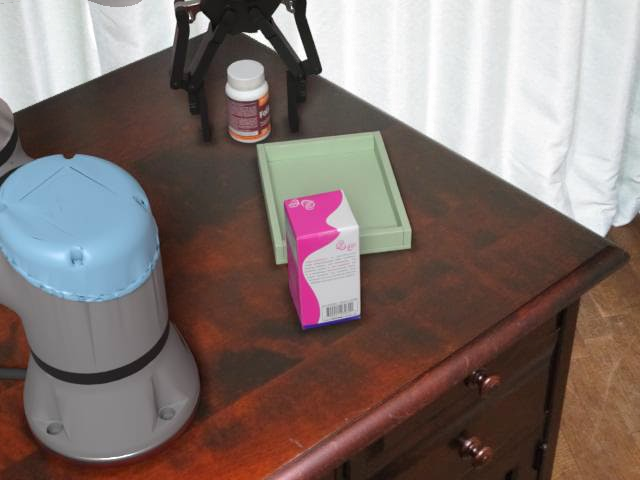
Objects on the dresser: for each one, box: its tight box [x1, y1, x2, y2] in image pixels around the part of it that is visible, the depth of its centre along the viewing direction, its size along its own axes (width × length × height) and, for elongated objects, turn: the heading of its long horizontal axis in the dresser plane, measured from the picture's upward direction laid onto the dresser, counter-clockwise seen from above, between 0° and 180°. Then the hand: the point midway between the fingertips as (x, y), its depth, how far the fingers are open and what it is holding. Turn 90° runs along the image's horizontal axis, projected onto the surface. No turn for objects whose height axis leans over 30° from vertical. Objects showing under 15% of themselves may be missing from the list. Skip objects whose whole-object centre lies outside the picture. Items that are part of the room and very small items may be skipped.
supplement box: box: [284, 190, 362, 330], centre depth 106 cm, size 6×6×12 cm
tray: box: [255, 130, 413, 265], centre depth 120 cm, size 14×17×2 cm
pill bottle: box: [224, 59, 272, 144], centre depth 127 cm, size 5×5×8 cm
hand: (250, 129), depth 130 cm, fingers open, 9 cm apart
